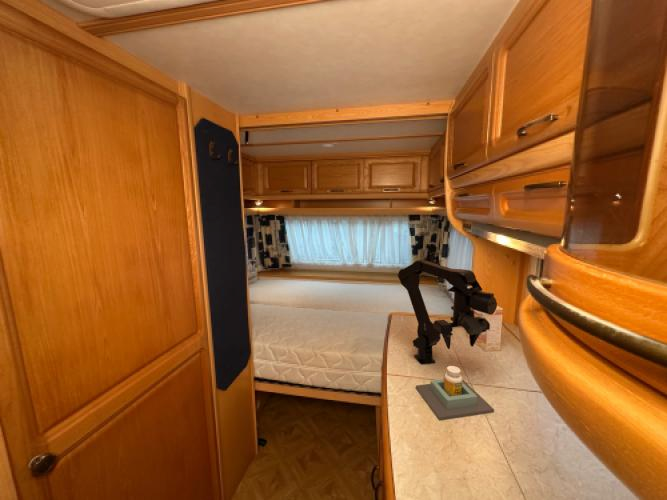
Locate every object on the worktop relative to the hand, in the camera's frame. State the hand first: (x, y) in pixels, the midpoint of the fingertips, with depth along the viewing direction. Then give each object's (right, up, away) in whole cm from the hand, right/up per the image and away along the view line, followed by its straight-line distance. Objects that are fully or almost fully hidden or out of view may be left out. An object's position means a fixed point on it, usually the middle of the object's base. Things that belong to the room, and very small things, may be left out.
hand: (460, 347), depth 98 cm
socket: (-7, -14, -10) cm, 18 cm away
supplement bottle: (-7, -13, -10) cm, 17 cm away
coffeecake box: (+23, -8, +28) cm, 37 cm away
